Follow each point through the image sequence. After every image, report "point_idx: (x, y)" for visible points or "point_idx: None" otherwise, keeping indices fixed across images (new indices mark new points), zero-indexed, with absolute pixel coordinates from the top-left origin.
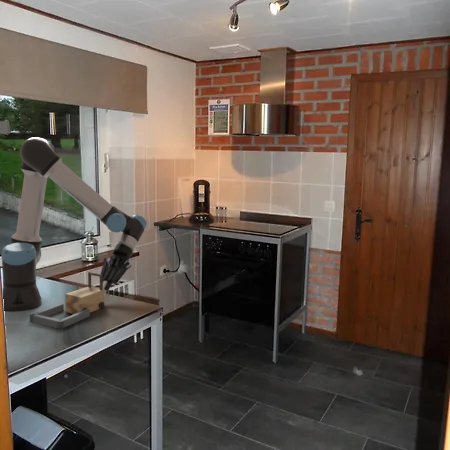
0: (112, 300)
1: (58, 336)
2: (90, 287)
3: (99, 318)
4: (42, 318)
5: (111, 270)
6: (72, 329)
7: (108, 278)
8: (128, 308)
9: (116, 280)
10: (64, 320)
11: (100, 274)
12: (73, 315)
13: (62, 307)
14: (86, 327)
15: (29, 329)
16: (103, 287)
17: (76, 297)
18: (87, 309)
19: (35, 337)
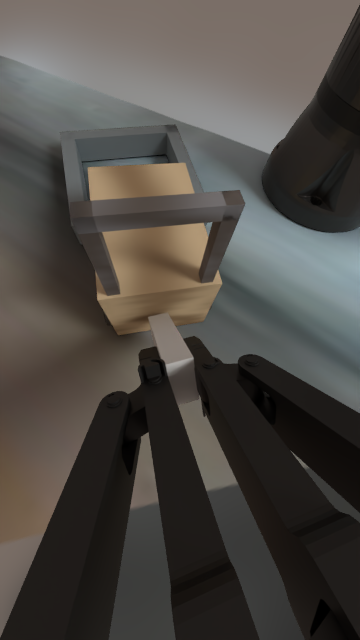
0: None
1: (37, 136)
2: (196, 275)
3: (40, 255)
4: (129, 130)
5: (254, 494)
6: (43, 170)
7: (211, 417)
8: (16, 406)
9: (122, 448)
10: (61, 142)
11: (92, 208)
12: (71, 171)
13: None
14: (19, 195)
15: None
16: (155, 337)
17: (117, 170)
18: None
19: (78, 115)
